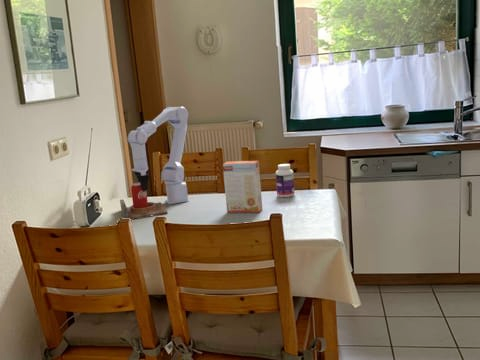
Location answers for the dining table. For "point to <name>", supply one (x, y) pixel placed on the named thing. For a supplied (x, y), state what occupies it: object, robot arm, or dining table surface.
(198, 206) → the dining table surface
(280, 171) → the pill bottle
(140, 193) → the beverage can
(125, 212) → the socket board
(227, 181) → the cracker box
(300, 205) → the dining table surface
